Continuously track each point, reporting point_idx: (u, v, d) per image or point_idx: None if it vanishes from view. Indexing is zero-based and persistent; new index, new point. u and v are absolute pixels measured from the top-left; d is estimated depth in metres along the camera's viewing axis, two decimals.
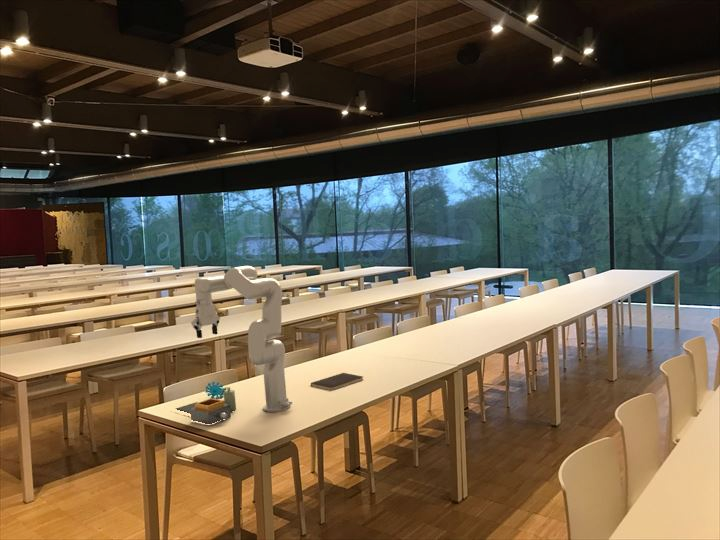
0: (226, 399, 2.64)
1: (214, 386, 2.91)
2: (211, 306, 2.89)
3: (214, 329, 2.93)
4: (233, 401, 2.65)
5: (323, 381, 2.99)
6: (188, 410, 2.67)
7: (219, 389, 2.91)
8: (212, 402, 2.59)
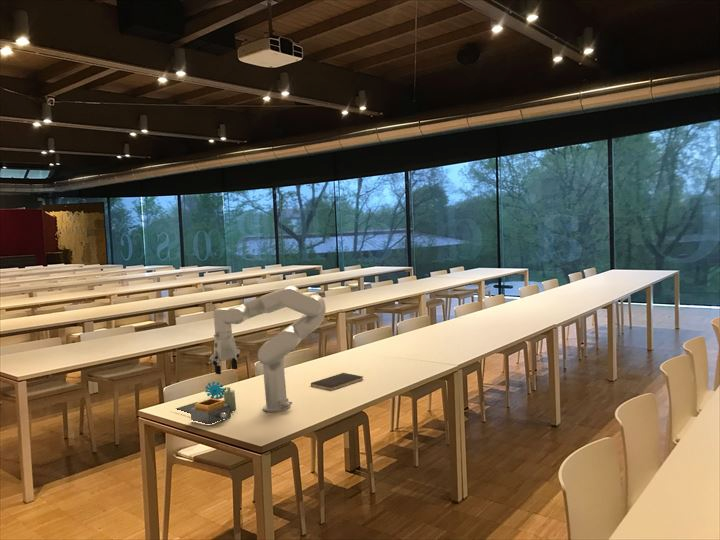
0: (226, 399, 2.64)
1: (214, 386, 2.91)
2: (231, 339, 2.64)
3: (234, 364, 2.68)
4: (233, 401, 2.65)
5: (323, 381, 2.99)
6: (188, 410, 2.67)
7: (219, 389, 2.91)
8: (212, 402, 2.59)
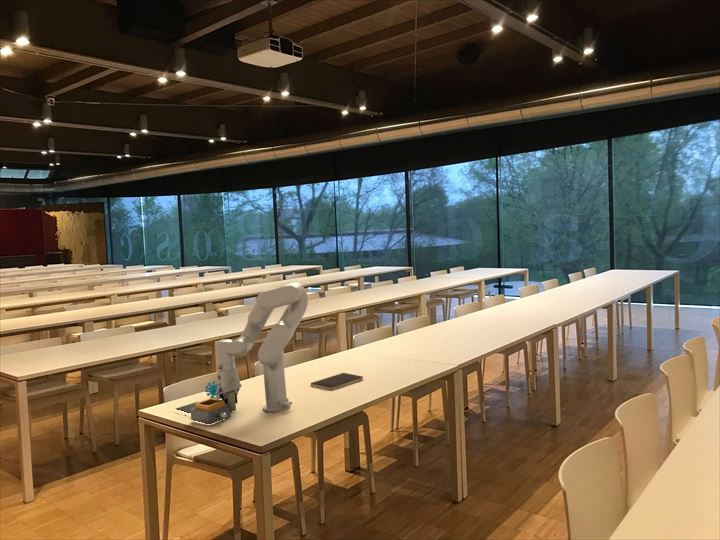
0: None
1: (214, 386, 2.91)
2: (234, 370, 2.65)
3: None
4: (233, 401, 2.65)
5: (323, 381, 2.99)
6: (188, 410, 2.67)
7: None
8: (212, 402, 2.59)
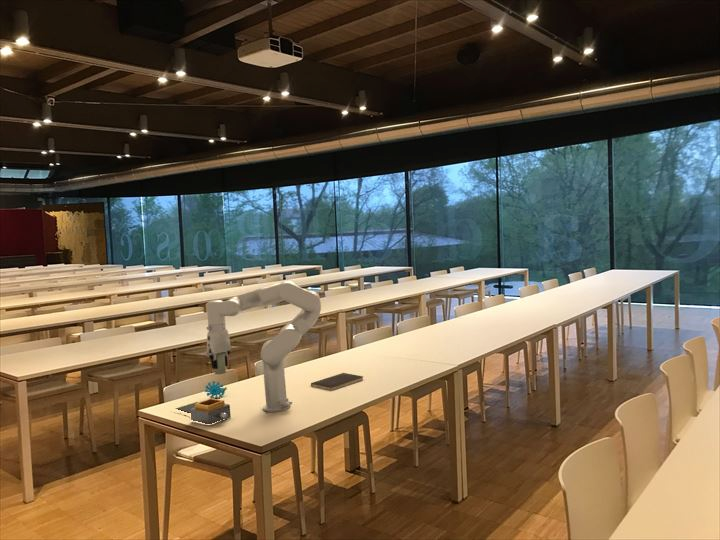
0: None
1: (214, 386, 2.91)
2: (224, 332, 2.60)
3: None
4: (223, 363, 2.60)
5: (323, 381, 2.99)
6: (188, 410, 2.67)
7: (219, 389, 2.91)
8: (212, 402, 2.59)
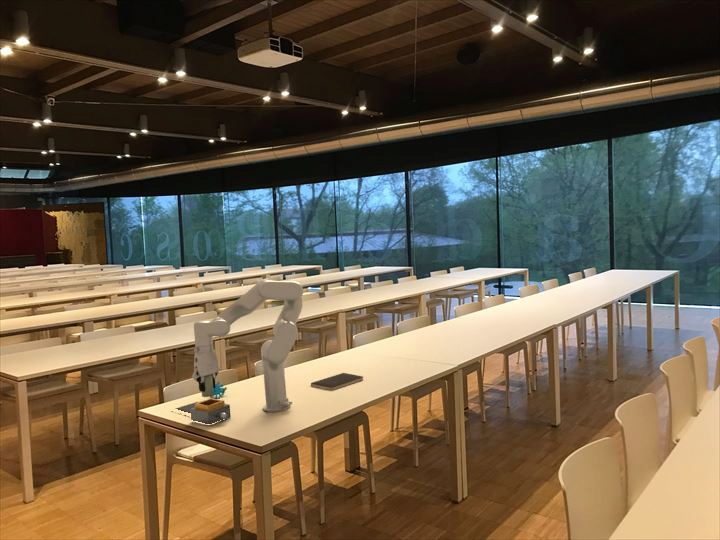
0: None
1: None
2: (212, 353, 2.53)
3: None
4: (210, 385, 2.52)
5: (323, 381, 2.99)
6: (188, 410, 2.67)
7: (219, 389, 2.91)
8: (212, 402, 2.59)
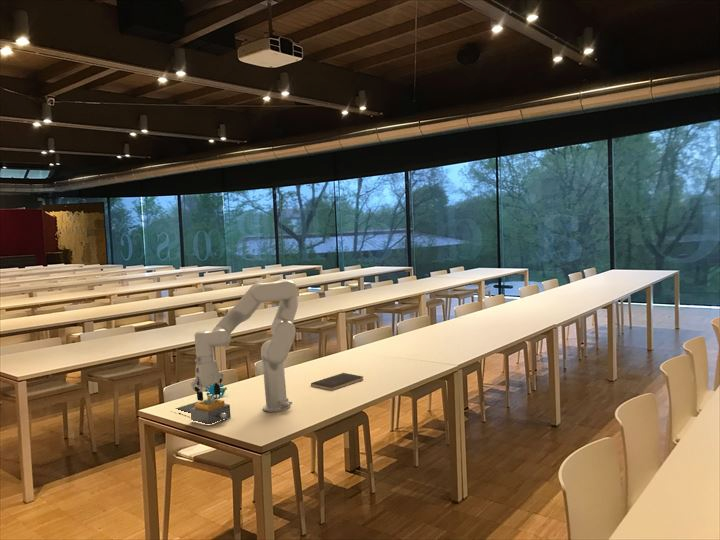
0: None
1: None
2: (213, 363, 2.53)
3: (216, 389, 2.57)
4: None
5: (323, 381, 2.99)
6: (188, 410, 2.68)
7: None
8: None
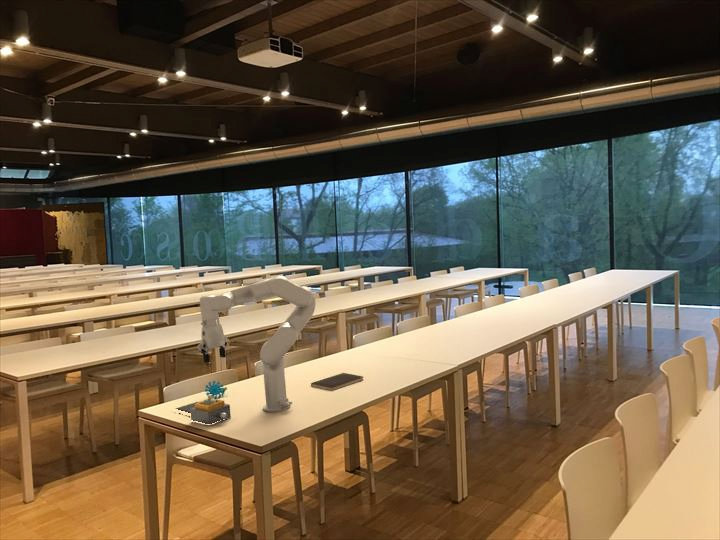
0: None
1: (214, 385, 2.92)
2: (218, 327, 2.61)
3: (222, 352, 2.65)
4: None
5: (323, 381, 2.99)
6: (188, 410, 2.68)
7: (219, 389, 2.91)
8: None
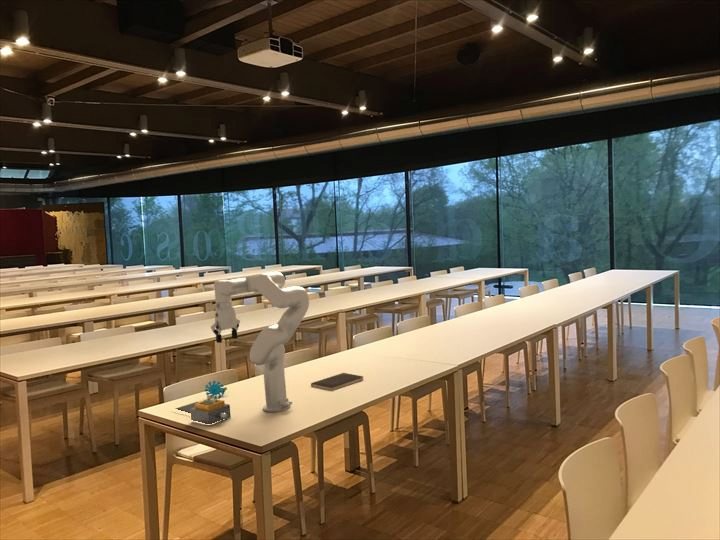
0: None
1: (214, 385, 2.92)
2: (231, 309, 2.77)
3: (234, 333, 2.81)
4: None
5: (323, 381, 2.99)
6: (188, 410, 2.68)
7: (219, 388, 2.92)
8: None
